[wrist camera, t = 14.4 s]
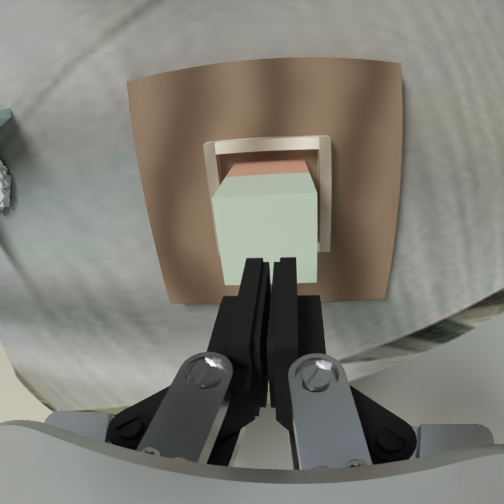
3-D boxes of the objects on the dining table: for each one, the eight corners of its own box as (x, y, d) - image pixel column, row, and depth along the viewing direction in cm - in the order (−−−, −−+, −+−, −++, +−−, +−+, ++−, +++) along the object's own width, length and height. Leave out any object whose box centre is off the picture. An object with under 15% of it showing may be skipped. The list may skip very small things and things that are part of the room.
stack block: (304, 159, 21) (317, 192, 14) (306, 223, 23) (316, 282, 16) (234, 163, 22) (211, 198, 15) (241, 226, 24) (225, 285, 17)
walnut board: (393, 65, 18) (407, 62, 16) (381, 289, 27) (388, 306, 25) (135, 82, 20) (119, 81, 18) (174, 294, 30) (166, 311, 27)
